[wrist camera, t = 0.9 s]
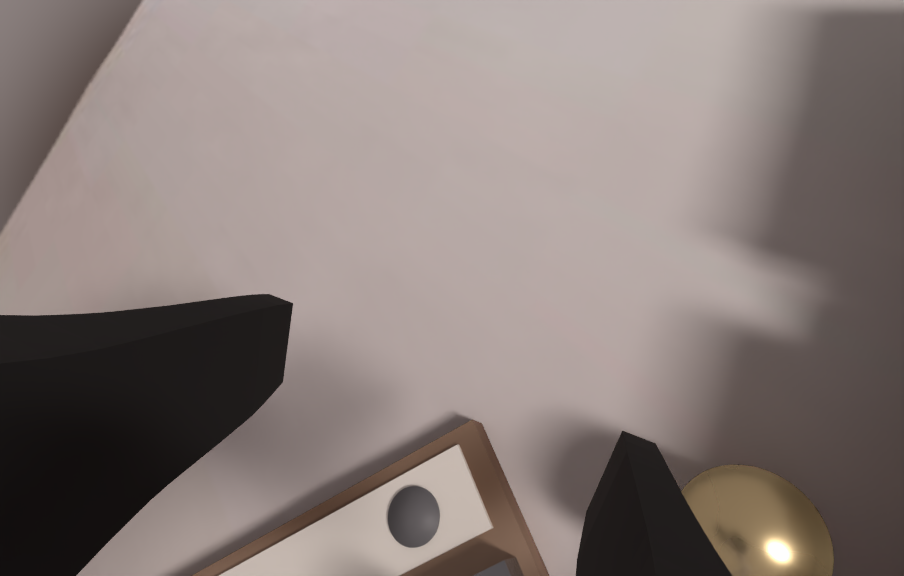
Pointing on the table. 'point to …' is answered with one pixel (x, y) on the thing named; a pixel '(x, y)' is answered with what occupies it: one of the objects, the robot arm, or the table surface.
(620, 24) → the table surface
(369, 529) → the board
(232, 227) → the table surface
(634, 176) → the table surface
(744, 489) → the brass peg
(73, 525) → the robot arm
